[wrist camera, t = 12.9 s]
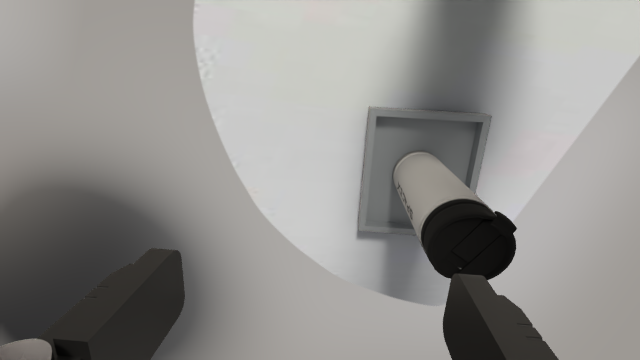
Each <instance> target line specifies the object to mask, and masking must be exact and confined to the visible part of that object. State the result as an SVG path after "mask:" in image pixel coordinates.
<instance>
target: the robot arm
mask: <svg viewBox="0 0 640 360" xmlns="http://www.w3.org/2000/svg"><path fill="white" fill-rule="evenodd" d="M184 299H185V292H184V281H183V270H182V259H181V254H180V252H179V251H178V250H167V249H156V248H152V249H149V250H148V251H147V252H146V253H145V254H144V255H143V256H142V257H140V258H139V259H138V260H137V261H136V262H135V263H134V264H129V265H127V266H125V267H123V268H121V269H119V270H117V271H115V272H113V273H111V274H110V275H109V276H108V277H107V278H106V279H105V280H103V281H102V282H101V283H100V284H99V285H98V286H97V288H94V289H93V290H92V291H91V292H90V293H89V294H87V295H86V296H85V299H82V300H80V301H79V303H77V304H76V305H75V306H74V307H72V308H71V309H70V310H69V311H68V312H67V313H66V314H65V315H63V316H62V317H61V318H60V319H59V320H58V321H56V322H55V323H54V324H53V325H52V326H51V327H50V328H48V329H47V330H46V331H45V332H44V333H43V334H42V335H41V336H39V337H38V338H37V339H26V340H20V341H16V342H12V343H9V344H6V345H3V346H1V347H0V360H150V359H151V358H152V356H153V354H154V353H155V351H156V350H157V349H158V347H159V346H160V344H161V343H162V341H163V340H164V338H165V337H166V335H167V334H168V332H169V331H170V329H171V328H172V326H173V325H174V323H175V322H176V320H177V319H178V317H179V315H180V313H181V311H182V308H183V305H184ZM443 333H444V338H445V342H446V345H447V347H448V350H449V353H450V355H451V358H452V360H558V358H557V357H556V356H555V354H554V353H553V351H552V350H551V349H550V347H549V346H548V345H547V343H546V342H545V341H543V340H542V337H541V335H540V334H539V333H538V331H537V330H536V329H535V328H533V327H532V323H531V322H530V321H529V319H528V318H527V317H526V315H525V314H524V313H523V311H522V310H521V309H520V308H519V307H518V306H516V305H515V304H514V303H512V302H511V301H510V300H509V299H507V298H506V297H505V296H502V295H497V294H496V293H495V291H494V290H493V289H492V287H491V285H490V284H489V283H488V281H487V280H486V278H485V277H484V276H481V275H469V274H454V275H453V276H452V279H451V283H450V288H449V293H448V298H447V302H446V307H445V312H444V317H443Z"/></svg>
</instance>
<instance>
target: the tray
mask: <svg viewBox="0 0 640 360" xmlns="http://www.w3.org/2000/svg"><path fill="white" fill-rule="evenodd" d="M491 117H492V116H491V115H487V114H484V113H467V112H450V111H433V110H416V109H399V108H381V107H369V113H368V124H367V134H366V144H365V155H364V165H363V176H362V186H361V197H360V207H359V217H358V230H359V231H368V232H382V233H395V234H408V235H417V234H416V232H415V229H414V227H413V225H412V223H411V220H410V218H409V216H408V214H407V211H406V209H405V207H404V205H403V202H402V200H401V198H400V196H399V193H398V191H397V189H396V187H395V184H394V182H393V177H392V174H393V168H394V166H395V164H396V162H397V161H398V160H399V159H400V158H401V157H402V156H403V155H405V154H406V153H409V152H411V151H417V150H421V151H426V152H429V153H431V154H433V155H434V156H435V157H436V158H437V159H438V160H439V161H440V162H442V163H443V164H444V165H445V166H446V167H447V168H448V169H449V170H450V171H451V172H452V173H453V174H454V175H455V176H456V177H457V178H458V179H459V180H461V181H462V182H463V183H464V184H465V185H466V186H467V187H468V188H469V189H470V190H471V191H472V192H473V193H474V194H475V192H476V187H477V183H478V178H479V173H480V169H481V164H482V159H483V154H484V150H485V145H486V140H487V135H488V131H489V126H490V121H491Z"/></svg>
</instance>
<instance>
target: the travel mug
mask: <svg viewBox="0 0 640 360" xmlns="http://www.w3.org/2000/svg"><path fill="white" fill-rule="evenodd" d="M392 177H393V182H394V184H395V187H396V189H397V191H398V193H399V196H400V198H401V200H402V202H403V205H404V207H405V209H406V211H407V214H408V216H409V218H410V220H411V223H412V225H413V227H414V229H415V232H416V234H417V236H418V238H419V241H420V243H421V245H422V247H423V250H424V251H425V253H426V255H427V257H428V259H429V261H430V262H431V264H432V265H433V267H434V269H435V270H436V271H437V272H438V273H440V274H441V275H443V276H444V277H446V278H451V279H452V276H453V275H454V274H469V275H481V276H484V277H485V278H486V280H489V279H491V278H494V277H495V276H497V275H499V274H500V273H501V272H503V271H504V270H505V269H506V268H507V267H508V266H509V264H510V263H511V262H512V260H513V257H514V255H515V250H516V241H515V238H514V235H513V233H514V232H515V231H516V229H517V228H516V226H515V225H514V224H513V223H512V221H511V220H510V219H508V218H507V217H506V216H505V215H503V214H502V213H500V212H497V211H495V212H493V211H492V210H491V209H490V208H489V207H488V206H487V205H486V204H485V203H484V202H483V201H482V200H481V199H480V198H479V197H477V196H476V195H475V194H474V193H473V192H472V191H471V190H470V189H469V188H468V187H467V186H466V185H465V184H464V183H463V182H462V181H461V180H459V179H458V178H457V177H456V176H455V175H454V174H453V173H452V172H451V171H450V170H449V169H448V168H447V167H446V166H445V165H444V164H443V163H442V162H440V161H439V160H438V159H437V158H436V157H435V156H434V155H433V154H431V153H429V152H426V151H421V150H417V151H411V152H409V153H406V154H405V155H403V156H402V157H401V158H400V159H399V160H398V161H397V162H396V164H395V166H394V168H393V174H392ZM494 213H495V214H496V215H497V216H496V215H495V214H494Z"/></svg>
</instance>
